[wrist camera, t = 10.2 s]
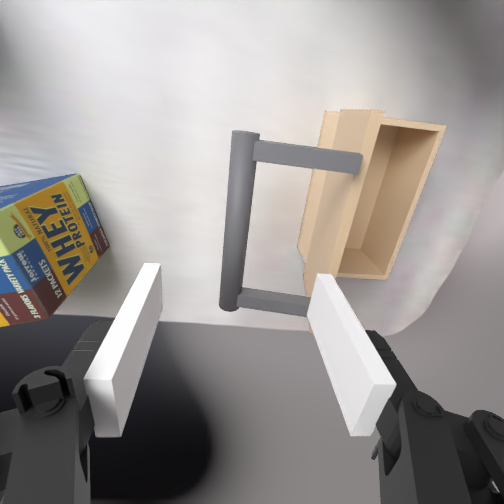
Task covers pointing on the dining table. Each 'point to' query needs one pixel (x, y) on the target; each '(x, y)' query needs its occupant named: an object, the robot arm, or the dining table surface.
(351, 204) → the flap
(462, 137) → the dining table surface
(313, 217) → the carton
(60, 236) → the protein box
